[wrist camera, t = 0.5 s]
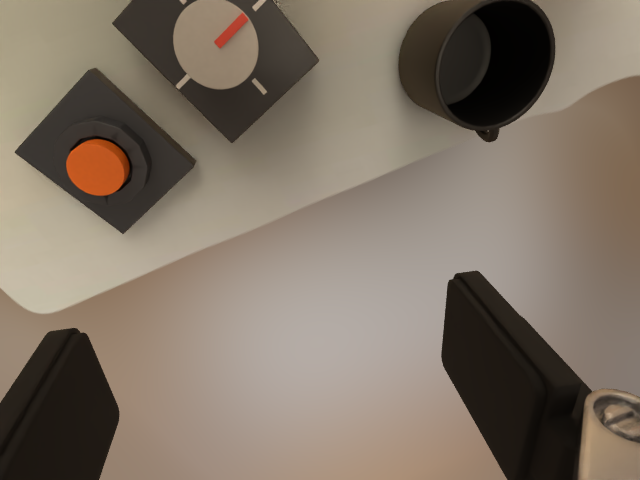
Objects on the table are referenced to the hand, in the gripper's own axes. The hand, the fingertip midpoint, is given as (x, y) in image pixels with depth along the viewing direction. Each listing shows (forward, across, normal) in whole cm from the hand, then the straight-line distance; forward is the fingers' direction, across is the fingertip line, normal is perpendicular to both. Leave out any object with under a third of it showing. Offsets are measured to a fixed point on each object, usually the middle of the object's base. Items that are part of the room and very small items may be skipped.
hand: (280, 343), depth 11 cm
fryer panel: (+32, +2, -6) cm, 32 cm away
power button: (+28, +14, +2) cm, 32 cm away
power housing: (+32, +14, +2) cm, 35 cm away
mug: (+32, -18, -2) cm, 37 cm away
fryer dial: (+27, +2, -6) cm, 28 cm away
